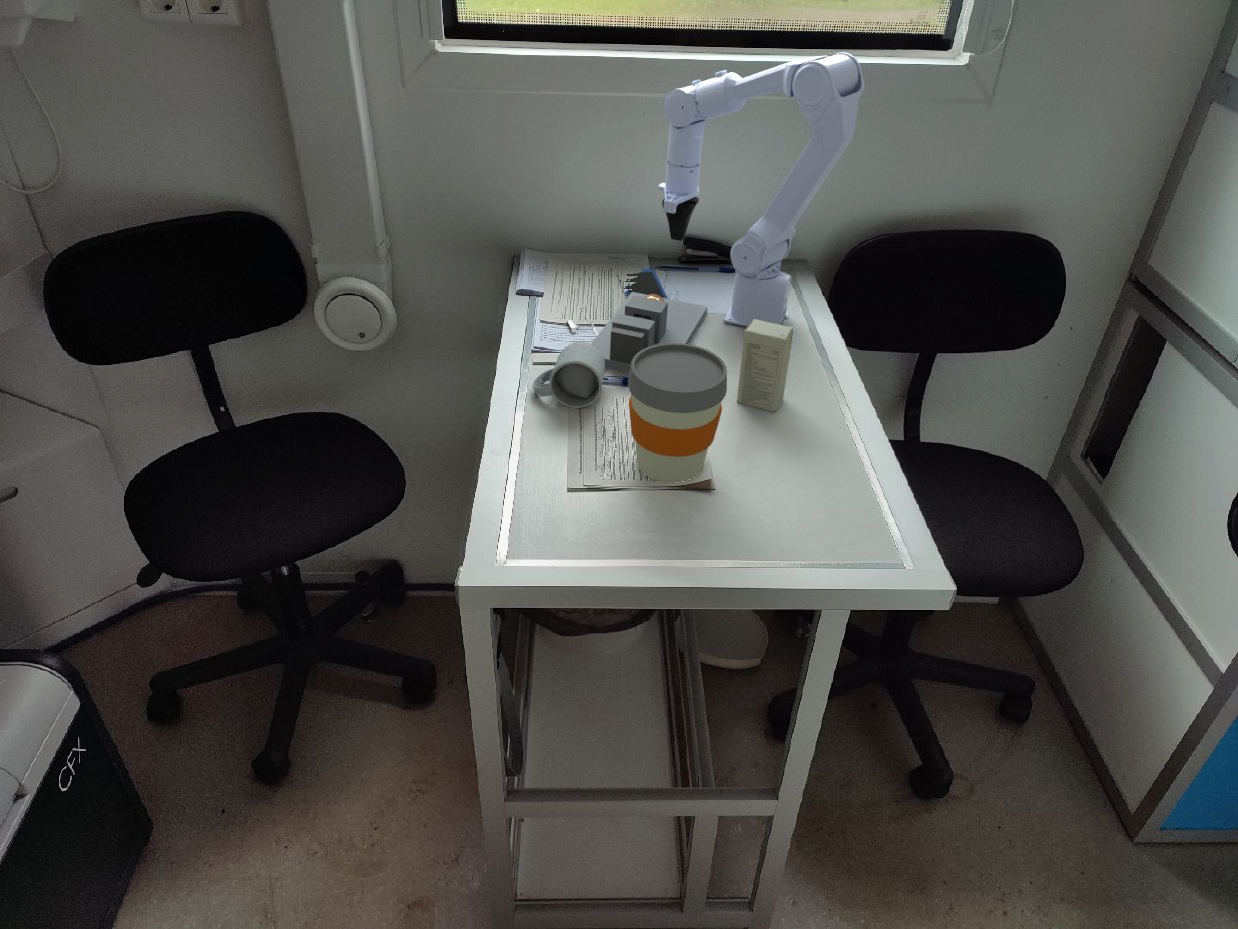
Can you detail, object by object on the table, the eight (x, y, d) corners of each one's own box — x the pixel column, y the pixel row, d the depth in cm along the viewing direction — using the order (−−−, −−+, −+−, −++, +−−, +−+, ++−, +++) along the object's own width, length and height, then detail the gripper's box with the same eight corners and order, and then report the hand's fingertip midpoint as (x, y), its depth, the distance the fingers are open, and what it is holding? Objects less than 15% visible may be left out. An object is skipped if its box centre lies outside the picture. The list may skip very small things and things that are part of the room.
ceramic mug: (605, 381, 132) (606, 336, 127) (601, 410, 125) (601, 364, 121) (537, 377, 132) (535, 332, 128) (529, 406, 126) (527, 360, 121)
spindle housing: (706, 314, 151) (710, 277, 147) (667, 380, 133) (670, 340, 128) (631, 299, 154) (633, 263, 150) (582, 362, 136) (583, 322, 132)
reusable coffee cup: (605, 455, 117) (608, 359, 108) (675, 425, 123) (684, 332, 114) (663, 504, 109) (673, 405, 100) (735, 469, 115) (750, 373, 106)
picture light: (604, 347, 141) (604, 336, 140) (579, 351, 140) (579, 339, 139) (584, 309, 152) (584, 298, 150) (560, 312, 151) (559, 301, 149)
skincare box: (783, 399, 130) (796, 327, 122) (775, 413, 127) (788, 340, 119) (743, 388, 132) (753, 316, 124) (734, 401, 129) (744, 329, 121)
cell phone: (653, 271, 165) (653, 268, 164) (669, 305, 154) (669, 301, 154) (615, 273, 164) (616, 269, 163) (628, 306, 153) (629, 303, 152)
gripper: (673, 146, 152) (667, 220, 160) (648, 171, 141) (643, 249, 149) (712, 152, 150) (704, 227, 158) (689, 177, 139) (682, 256, 147)
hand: (677, 238), depth 153 cm, fingers closed
